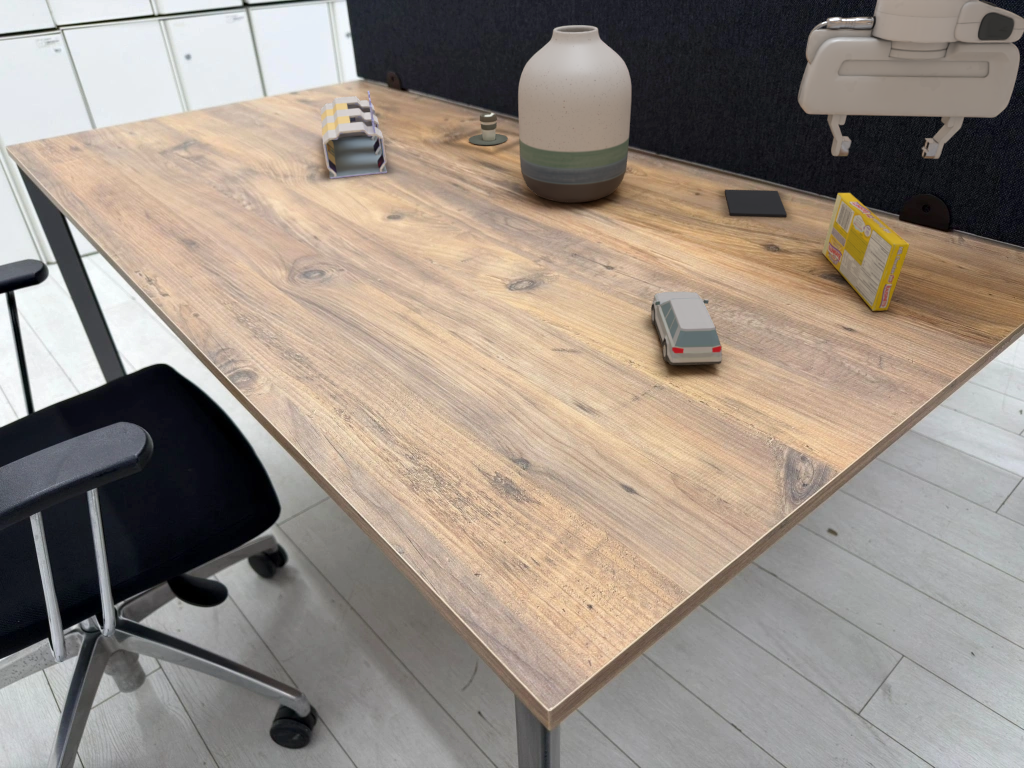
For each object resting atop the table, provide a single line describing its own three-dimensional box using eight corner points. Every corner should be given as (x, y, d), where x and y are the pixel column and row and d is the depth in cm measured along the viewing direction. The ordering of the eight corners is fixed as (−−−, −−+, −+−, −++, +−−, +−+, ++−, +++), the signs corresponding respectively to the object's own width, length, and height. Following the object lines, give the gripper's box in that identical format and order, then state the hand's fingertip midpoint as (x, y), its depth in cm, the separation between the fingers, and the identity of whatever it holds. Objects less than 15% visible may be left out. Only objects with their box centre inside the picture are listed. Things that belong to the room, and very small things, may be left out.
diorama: (388, 172, 128) (378, 95, 120) (329, 179, 126) (315, 100, 118) (377, 134, 148) (367, 66, 140) (326, 139, 146) (313, 70, 138)
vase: (646, 189, 117) (659, 25, 103) (580, 220, 107) (584, 43, 93) (566, 168, 126) (568, 16, 113) (498, 195, 116) (491, 32, 103)
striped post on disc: (446, 142, 142) (444, 116, 139) (487, 128, 149) (486, 103, 146) (492, 153, 135) (491, 125, 132) (532, 137, 142) (532, 111, 140)
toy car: (696, 312, 83) (701, 272, 80) (723, 374, 72) (730, 331, 70) (646, 313, 83) (649, 274, 80) (666, 376, 72) (670, 333, 70)
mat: (777, 193, 113) (777, 190, 113) (786, 217, 105) (786, 214, 105) (724, 191, 115) (725, 189, 114) (729, 215, 106) (730, 212, 106)
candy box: (890, 311, 82) (911, 243, 77) (871, 312, 82) (891, 244, 77) (836, 252, 95) (851, 191, 90) (820, 252, 95) (834, 191, 90)
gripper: (818, 22, 71) (790, 162, 79) (1045, 22, 68) (992, 167, 76) (807, 12, 76) (781, 145, 84) (1018, 12, 73) (971, 149, 81)
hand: (883, 155), depth 80 cm, fingers open, 8 cm apart
